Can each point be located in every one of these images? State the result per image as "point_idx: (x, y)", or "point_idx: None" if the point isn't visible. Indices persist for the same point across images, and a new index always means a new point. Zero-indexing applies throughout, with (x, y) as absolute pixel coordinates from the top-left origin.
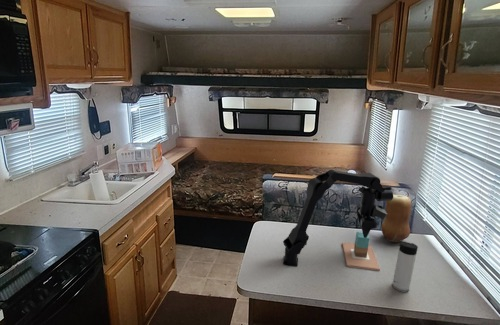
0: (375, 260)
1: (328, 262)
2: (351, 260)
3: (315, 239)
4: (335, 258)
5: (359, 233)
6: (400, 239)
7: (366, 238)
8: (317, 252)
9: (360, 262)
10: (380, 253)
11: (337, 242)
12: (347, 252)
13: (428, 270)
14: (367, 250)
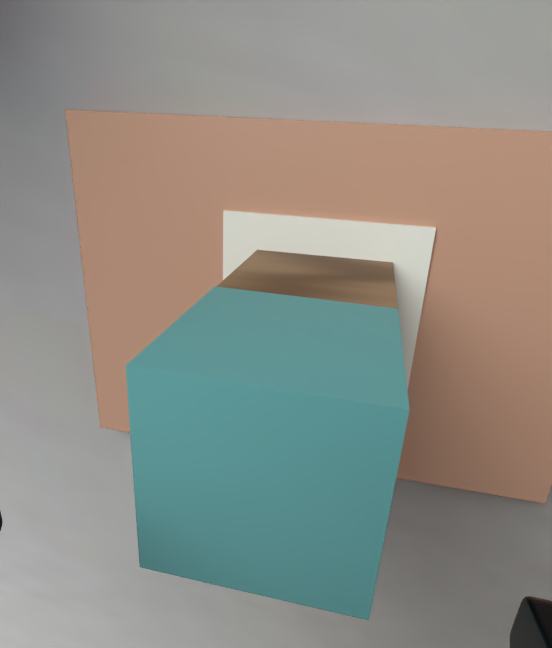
0: (439, 149)
1: (465, 607)
2: (458, 441)
3: (110, 596)
4: (390, 539)
5: (188, 537)
6: None
7: (395, 466)
8: (311, 636)
9: (498, 359)
10: (196, 6)
11: (99, 449)
12: None
13: None
14: (396, 296)
